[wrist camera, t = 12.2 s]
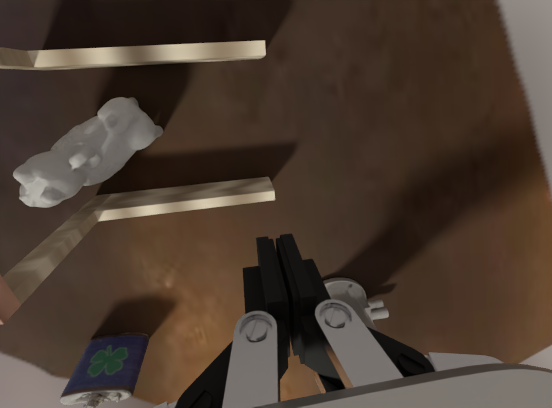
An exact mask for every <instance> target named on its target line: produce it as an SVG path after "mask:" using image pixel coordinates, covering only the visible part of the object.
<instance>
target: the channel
mask: <svg viewBox="0 0 552 408" xmlns="http://www.w3.org/2000/svg"><path fill="white" fill-rule="evenodd" d="M265 55H266V50H265V40H262V41H239V42H217V43H195V44H172V45H150V46H127V47H105V48H83V49H60V50H38V51H24V50H16V49H9V48H1V47H0V68H6V69H28V70H59V69H78V68H97V67H116V66H134V65H153V64H172V63H191V62H210V61H228V60H247V59H261V58H262V57H264V56H265ZM271 200H275V193H274V189H273V186H272V184H271V181H270V179H269V177H261V178H252V179H242V180H233V181H224V182H215V183H206V184H196V185H187V186H178V187H169V188H160V189H150V190H141V191H132V192H123V193H114V194H104V195H96V196H94V197H93V198H92V199H91V200H90V201H89V202H88V203H86V204H85V205H84V206H83V207H82V208H81V209H80V210H78V211H77V212H76V213H75V214H74V215H73V216H72V217H70V218H69V219H68V220H67V221H66V222H65V223H64V224H62V225H61V226H60V227H59V228H58V229H57V230H56V231H54V232H53V233H52V234H51V235H50V236H49V237H48V238H46V239H45V240H44V241H43V242H42V243H41V244H40V245H38V246H37V247H36V248H35V249H34V250H33V251H32V252H30V253H29V254H28V255H27V256H26V257H25V258H24V259H22V260H21V261H20V262H19V263H18V264H17V265H16V266H14V267H13V268H12V269H11V270H10V271H9V272H8V273H7V274H5V275H4V276H3V277H2V276H1V275H0V325H1V324H4V323H5V322H6V321H7V320H8V319H9V318H10V317H11V316H12V314H13V313H14V312H15V311H16V310H17V309H18V308H19V307H20V306H21V305H22V304H23V302H24V301H25V300H26V299H27V298H28V297H29V296H30V295H31V294H32V293H33V292H34V290H35V289H36V288H37V287H38V286H39V285H40V284H41V283H42V282H43V281H44V280H45V278H46V277H47V276H48V275H49V274H50V273H51V272H52V271H53V270H54V269H55V268H56V266H57V265H58V264H59V263H60V262H61V261H62V260H63V259H64V258H65V257H66V256H67V255H68V253H69V252H70V251H71V250H72V249H73V248H74V247H75V246H76V245H77V244H78V243H79V241H80V240H81V239H82V238H83V237H84V236H85V235H86V234H87V233H88V232H89V231H90V229H91V228H92V227H93V226H94V225H95V224H96V223H97V222H98V221H104V220H112V219H121V218H129V217H137V216H146V215H154V214H162V213H171V212H179V211H187V210H196V209H204V208H212V207H221V206H229V205H237V204H246V203H254V202H262V201H271Z"/></svg>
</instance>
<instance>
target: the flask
mask: <svg viewBox="0 0 552 408" xmlns="http://www.w3.org/2000/svg"><path fill="white" fill-rule="evenodd" d="M148 342H149V336H148V335H147V334H144V333H120V334H112V335H104V336H98V337H96V338H93V339H91V341H90V342H89V343H88V345H87V347H86V349H85V351H84V353H83V355H82V357H81V359H80V361H79V363H78V365H77V366H76V368H75V370H74V372H73V374H72V376H71V378H70V380H69V382H68V384H67V386H66V388H65V389H64V391H63V393H62V395H61V397H60V402H61V403H62V404H65V405H74V404H79V403H85V402H87V403H88V404H87V406H86V405H84V407H85V406H86V408H95V407H96V406H98V405H99V404H101V403H103V402H104V400H107V401H111V400H116V402H119V401H120V400H125V399H127V398H129V397H130V396H131V395H133V393H134V389H135V385H136V382H137V379H138V375H139V372H140V368H141V365H142V362H143V359H144V355H145V352H146V349H147V346H148Z"/></svg>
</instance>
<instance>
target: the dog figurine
mask: <svg viewBox="0 0 552 408" xmlns="http://www.w3.org/2000/svg"><path fill="white" fill-rule="evenodd" d="M162 134H163V129H162V128H161V127H160V126H156V125H154V123H153V121H152V120H151V119H150V118H149V116H148V115H147V114H146V113H145V112H143V111H142V110H141V109H140V108H139V105H138V101H137V100H136V99H135V98H133V97H130V98H128V99H127V98H124V97H118V98H114V99H111V100H109V101H108V102H107V103H105V104H104V105H103V106H102V108H101V109H100V110H99V111H98V116H95V117H93V118H91V119H89V120H88V121H86V122H84V123H83V124H81V125H77V126H75V127H74V128H73V129H71V130H70V131H69V132H68V133H67V134H66V135H64V136H63V137H62V138H61V139H59V140H58V142H57V143H55V144H54V146H53V147H52V148H51V151H49V152H44V153H41V154H37V155H35V156H33V157H31V158H30V159H28V160H27V161H26V163H25V164H23V165H21V166H19V167H18V168H17V169H16V170H15V171H14V173H13V176H14V178H15V179H16V180H17V181H19V182H20V183H22V185H21V187H20V197H19V199H20V200H22V201H23V202H24V203H25V204H26V205H28V206H32V207H34V206H36V207H52V206H55V205H57V204H59V203H60V202H61V201H62V200H64V199H68V198H71V197H72V196H74V195H75V194H77V192H78V191H79V190H80V189H81V187H82V186H83V185H85V186H89V185H95V184H97V183H101V182H103V181H105V180H107V179H109V178H110V177H111V176H113V175H114V174H115V173H116V172H117V171H119V170H120V169H121V168H122V167H123V166H124V165H125V163H126V162H127V161H128V160H129V159H130V157H131V156H132V155H133V154H134V153H135V151H136V150H141V149H144V148H146V147H147V146H149V145H150V144H151V143H152V142H153V141H154V140H155V138H156V137H160V136H161V135H162Z"/></svg>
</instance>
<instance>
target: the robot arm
mask: <svg viewBox="0 0 552 408" xmlns="http://www.w3.org/2000/svg"><path fill="white" fill-rule="evenodd" d="M256 242H257V253H258V265H259V266H254V267H246V268H243V280H244V297H245V315H244V316H242V317H241V318H240V319H239V321H238V322H237V324H236V327H235V331H234V338H233V341H232V342H231V343H230V344H229V345H228V346H227V347H226V348H225V349H224V350H223V352H222V353H221V354H220V355H219V356H218V357H217V358H216V359H215V360H214V361H213V362H212V363H211V364H210V365H209V366H208V367H207V368H206V369H205V370H204V372H203V373H202V374H201V375H200V376H199V377H198V378H197V379H196V380H195V381H194V382H193V383H192V384H191V385H190V386H189V387H188V388H187V389H186V390H185V392H184V393H183V394H182V395H181V397H180V398H179V399H178V401H175V402H173V403H171V404H169V405H168V403H167V402H164V403H162V404H160V405H157V406H155V407H153V408H552V370H550V369H546V368H541V367H536V366H530V365H523V364H510V363H503V362H502V361H500V360H497V359H495V358H493V357H489V356H484V355H467V354H449V353H431V352H428V356H425V355H423V354H421V353H420V352H418V351H417V350H415V349H413V348H411V347H409V346H407V345H405V344H403V343H400V342H398V341H396V340H394V339H392V338H390V337H388V336H386V335H384V334H382V333H380V332H378V330H377V329H376V327H375V325H374V323H373V322H372V321H373V320H374V319H382V318H387V317H388V316H389V314H388V310H387V308H386V307H385V306H383V302H382V300H381V299H377V300H373V301H369V300H367V299H366V294H365V291H364V290H363V288H362V286H361V285H360V284H359V283H357V282H356V281H354V280H352V279H349V278H331V279H328V280H324V281H323V280H322V278H321V276H320V274H319V271H318V269H317V267H316V265H315V263H314V261H313V259H307V260H302V258H301V255H300V253H299V250H298V248H297V245H296V243H295V240H294V238H293V235H292V234H284V235H280V238H276V249H275V246H274V242H273V239H268V236H267V237H258V238H256ZM372 308H374V309H372ZM290 341H291V345H292V350H293V354H294V356H296V355H299V358H300V362H301V364H304V363H305V365H306V366H308V367H309V368H311V369H312V370H313V373H314V376H315V379H316V381H317V384H318V386H319V388H320V391H321V393H322V394H317V395H312V396H307V397H302V398H297V399H292V400H287V401H282V402H281V401H280V379H281V378H282V376H283V375H284V373H285V372H286V370H287V369H288V357H290Z"/></svg>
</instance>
